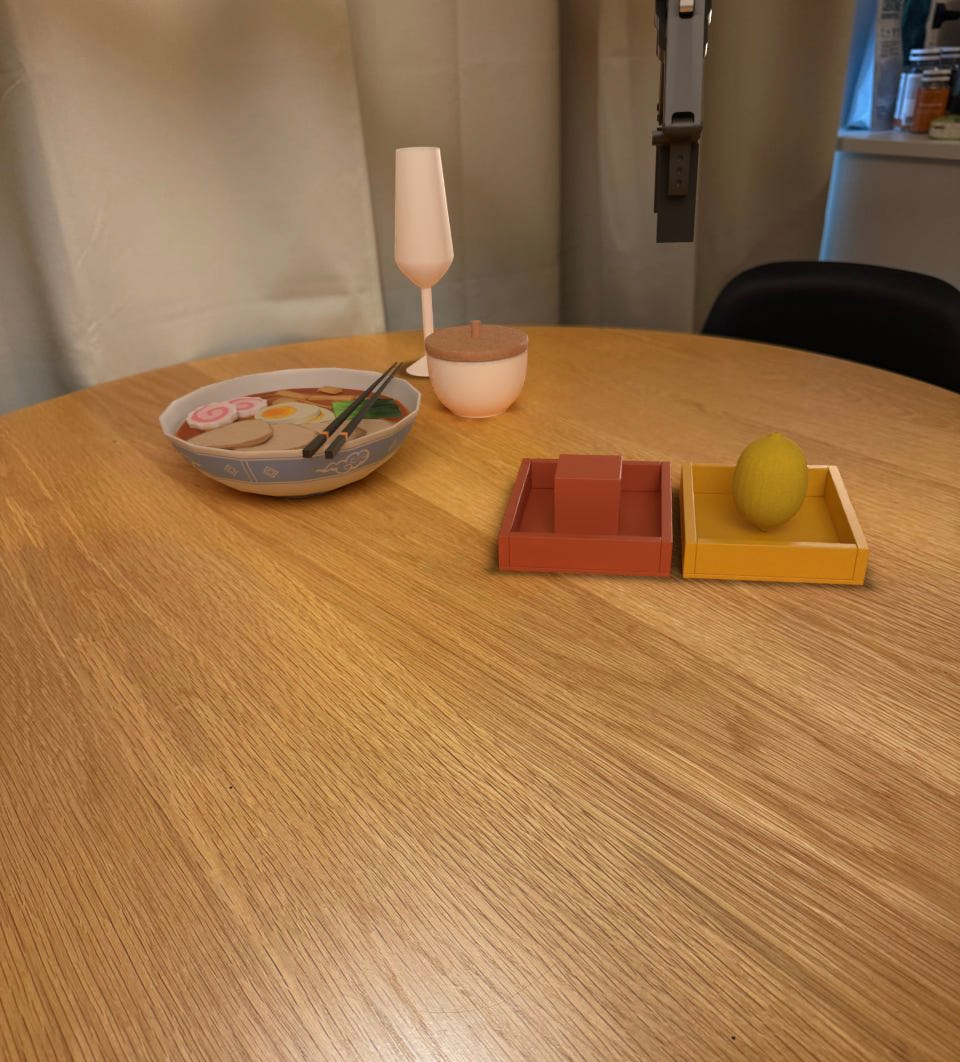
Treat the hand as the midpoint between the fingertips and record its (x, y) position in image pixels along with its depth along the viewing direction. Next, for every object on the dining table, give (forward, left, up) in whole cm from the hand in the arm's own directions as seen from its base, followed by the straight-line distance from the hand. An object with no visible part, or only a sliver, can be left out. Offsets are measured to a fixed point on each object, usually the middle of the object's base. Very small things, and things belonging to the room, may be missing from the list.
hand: (671, 226), depth 80 cm
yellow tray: (-8, +13, -21) cm, 26 cm away
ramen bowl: (+32, +5, -21) cm, 38 cm away
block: (+5, +13, -20) cm, 25 cm away
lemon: (-8, +13, -20) cm, 26 cm away
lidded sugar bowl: (+19, -16, -21) cm, 32 cm away
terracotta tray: (+5, +13, -21) cm, 25 cm away
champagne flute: (+27, -30, -21) cm, 45 cm away
